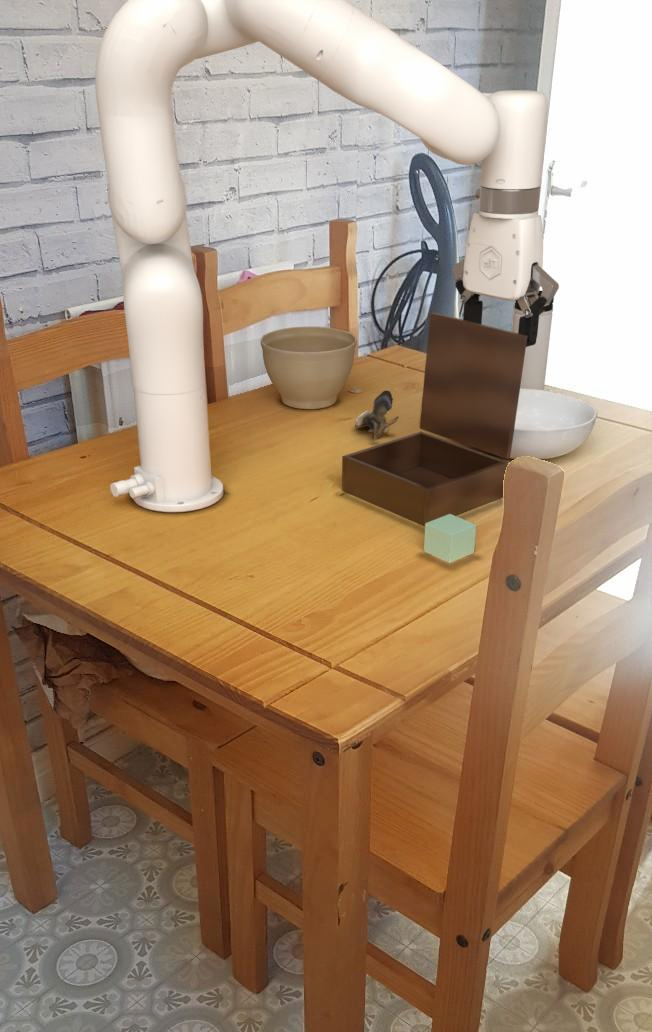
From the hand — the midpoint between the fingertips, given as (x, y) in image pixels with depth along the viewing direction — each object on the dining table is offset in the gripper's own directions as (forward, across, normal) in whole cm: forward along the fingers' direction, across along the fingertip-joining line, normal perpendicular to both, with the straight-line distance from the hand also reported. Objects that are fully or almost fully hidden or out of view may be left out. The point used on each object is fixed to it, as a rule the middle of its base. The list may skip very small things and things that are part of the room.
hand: (498, 339), depth 140 cm
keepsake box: (+19, 0, -13) cm, 24 cm away
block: (+19, +15, -24) cm, 34 cm away
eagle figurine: (+20, -23, 0) cm, 30 cm away
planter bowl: (+20, -43, +3) cm, 47 cm away
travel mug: (+20, -16, +28) cm, 38 cm away
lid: (+5, 0, -5) cm, 8 cm away
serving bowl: (+20, -3, +12) cm, 23 cm away
